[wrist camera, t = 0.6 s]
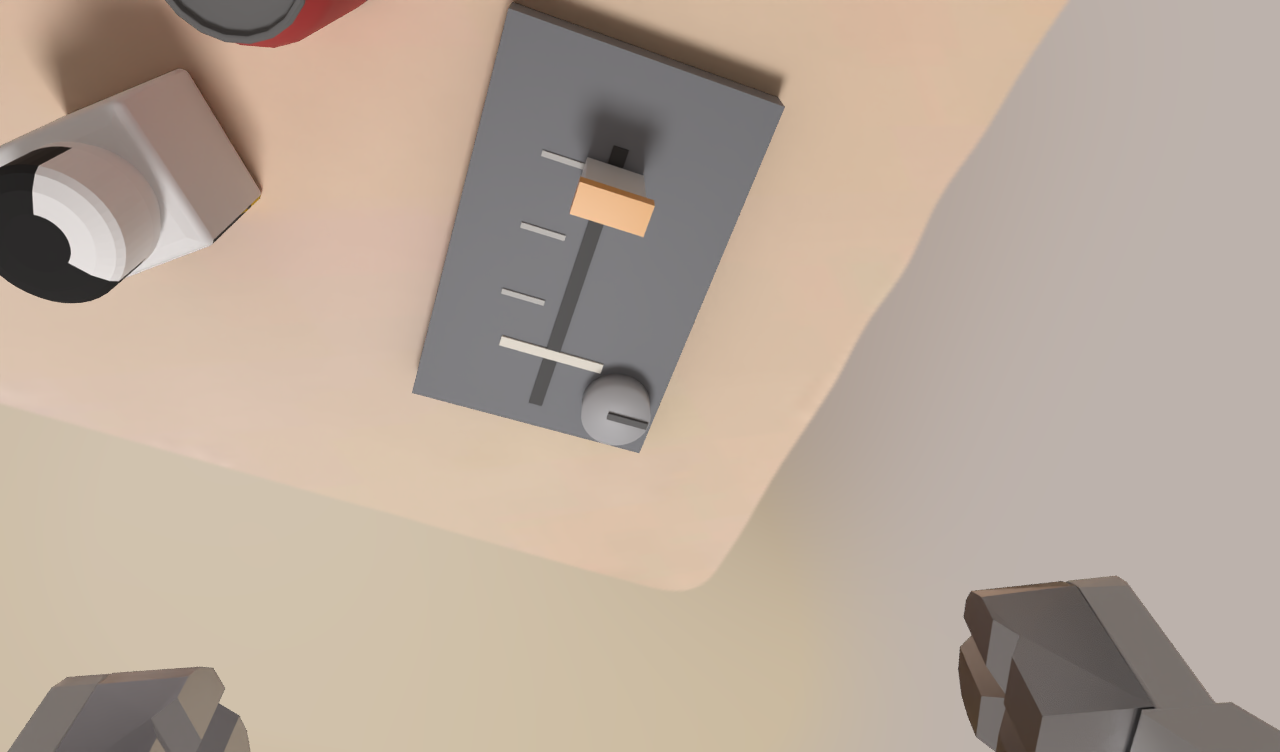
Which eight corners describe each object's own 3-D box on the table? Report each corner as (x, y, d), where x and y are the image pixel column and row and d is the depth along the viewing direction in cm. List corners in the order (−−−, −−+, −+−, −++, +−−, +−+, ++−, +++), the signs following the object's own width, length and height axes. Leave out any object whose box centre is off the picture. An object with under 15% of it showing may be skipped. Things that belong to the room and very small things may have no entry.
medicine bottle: (151, 239, 48) (24, 344, 37) (65, 115, 44) (-102, 192, 34) (266, 195, 46) (167, 290, 36) (186, 64, 43) (52, 128, 33)
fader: (582, 151, 43) (579, 181, 39) (650, 173, 44) (654, 206, 40) (573, 180, 44) (569, 213, 40) (640, 202, 45) (643, 237, 41)
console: (512, 2, 42) (504, 13, 39) (777, 97, 45) (790, 115, 41) (418, 375, 52) (406, 408, 49) (638, 434, 55) (640, 469, 52)
